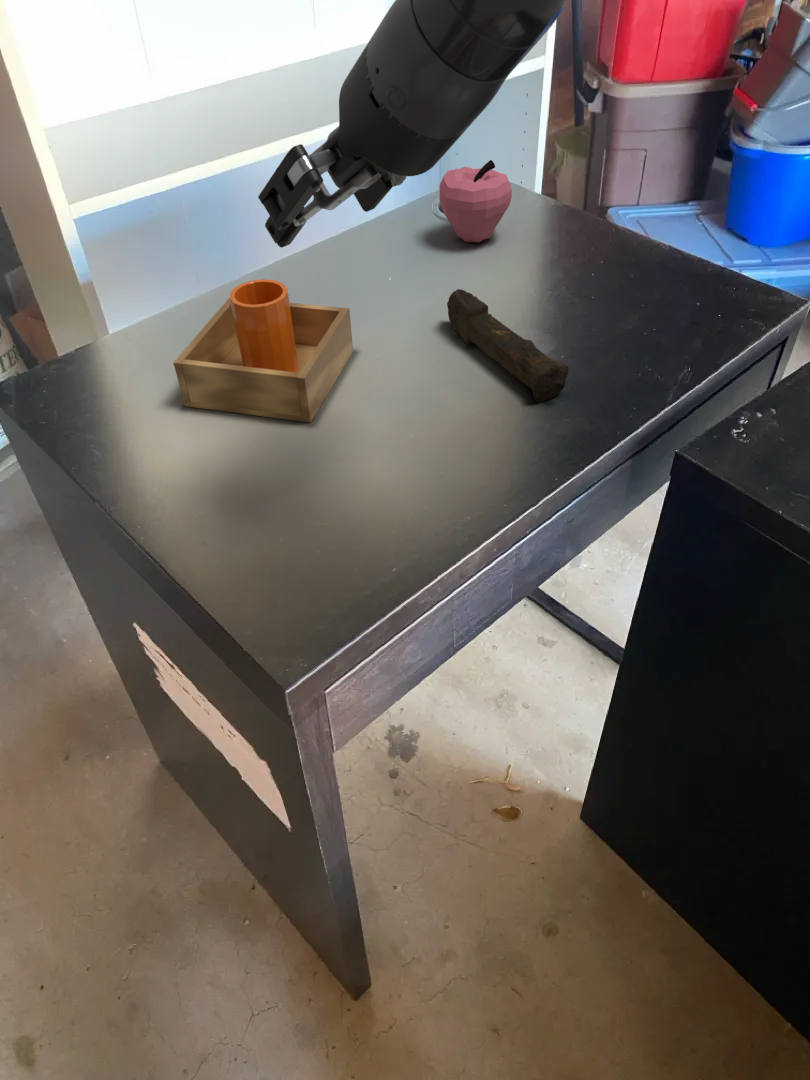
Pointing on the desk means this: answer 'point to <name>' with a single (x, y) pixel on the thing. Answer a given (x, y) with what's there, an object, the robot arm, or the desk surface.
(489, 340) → the dark brown long bar
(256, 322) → the orange cup
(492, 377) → the desk surface
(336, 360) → the wooden tray
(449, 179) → the apple
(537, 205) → the desk surface
